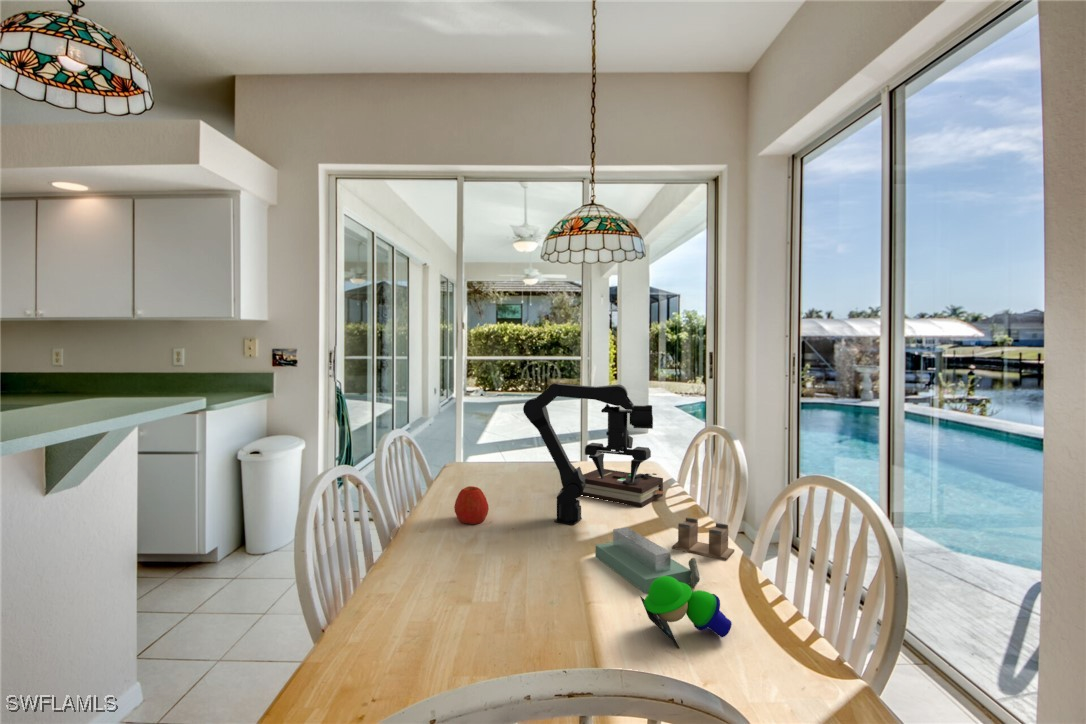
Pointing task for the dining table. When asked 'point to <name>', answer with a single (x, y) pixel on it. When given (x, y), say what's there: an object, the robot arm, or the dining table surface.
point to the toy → (683, 607)
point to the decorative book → (623, 487)
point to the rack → (691, 544)
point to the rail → (642, 549)
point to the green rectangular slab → (638, 567)
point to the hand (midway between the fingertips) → (617, 480)
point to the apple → (471, 505)
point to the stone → (694, 571)
